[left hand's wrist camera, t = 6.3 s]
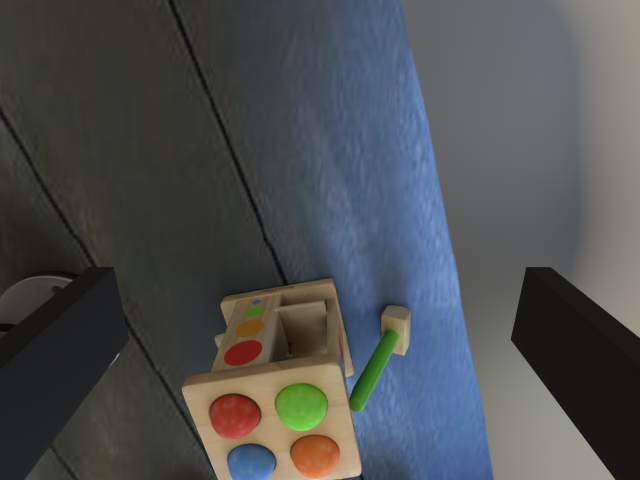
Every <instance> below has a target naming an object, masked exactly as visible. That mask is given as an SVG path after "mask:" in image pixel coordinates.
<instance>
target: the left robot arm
mask: <svg viewBox="0 0 640 480" xmlns="http://www.w3.org/2000/svg"><path fill="white" fill-rule="evenodd" d="M128 341H129V336H128V332H127V327H126V322H125V318H124V313H123V309H122V304H121V299H120V295H119V290H118V285H117V281H116V276H115V272H114V267H89V268H88V269H87V270H85V271H84V272H83V273H82V274H80V275H79V276H76V275H73V274H69V273H64V272H53V271H51V272H40V273H36V274H33V275H30V276H28V277H25V278H24V279H22V280H20V281H19V282H17V283H16V284H14V285H13V286H11V287H10V288H9V289H8V290H7V291H6V292H5V293H4V294H3V295H2V296H1V298H0V480H25V478H26V477H27V476H28V474H29V473H30V472H31V470H32V469H33V468H34V466H35V465H36V464H37V462H38V461H39V460H40V458H41V457H42V456H43V454H44V453H45V452H46V450H47V449H48V448H49V446H50V445H51V444H52V442H53V441H54V440H55V438H56V437H57V436H58V434H59V433H60V432H61V430H62V429H63V428H64V426H65V425H66V424H67V422H68V421H69V420H70V418H71V417H72V416H73V414H74V413H75V412H76V410H77V409H78V407H79V406H80V405H81V403H82V402H83V401H84V399H85V398H86V397H87V395H88V394H89V393H90V391H91V390H92V389H93V387H94V386H95V385H96V383H97V382H98V381H99V379H100V378H101V377H102V375H103V374H104V373H105V371H106V370H107V369H108V368H109V367H110V366H111V365H112V364H113V363H114V361H115V360H116V359H117V357H118V356H119V355H120V353H121V352H122V350H123V348H124V346H125V345H126V343H127V342H128ZM511 341H512V342H513V343H514V345H515V346H516V347H517V349H518V350H519V351H520V353H521V354H522V355H523V357H524V358H525V359H526V361H527V362H528V363H529V365H530V366H531V367H532V369H533V370H534V371H535V373H536V374H537V375H538V377H539V378H540V379H541V381H542V382H543V383H544V385H545V386H546V387H547V389H548V390H549V391H550V393H551V394H552V395H553V397H554V398H555V399H556V401H557V402H558V403H559V405H560V406H561V407H562V409H563V410H564V411H565V413H566V414H567V416H568V417H569V418H570V420H571V421H572V422H573V423H574V425H575V426H576V428H577V429H578V430H579V432H580V433H581V434H582V436H583V437H584V438H585V439H586V441H587V442H588V444H589V445H590V446H591V448H592V449H593V450H594V452H595V453H596V454H597V456H598V457H599V458H600V460H601V461H602V462H603V464H604V465H605V466H606V468H607V469H608V470H609V472H610V473H611V474H612V476H613V477H614V478H615V480H640V338H639V337H638V336H636V335H635V334H634V333H633V332H632V331H630V330H629V329H628V328H626V327H625V326H624V325H623V324H621V323H620V322H619V321H618V320H616V319H615V318H614V317H613V316H611V315H610V314H609V313H608V312H606V311H605V310H604V309H603V308H601V307H600V306H599V305H598V304H596V303H595V302H594V301H592V300H591V299H590V298H589V297H587V296H586V295H585V294H584V293H582V292H581V291H580V290H579V289H577V288H576V287H575V286H574V285H572V284H571V283H570V282H569V281H567V280H566V279H565V278H563V277H562V276H561V275H560V274H558V273H557V272H556V271H555V270H553V269H552V268H551V267H527V268H526V272H525V276H524V281H523V286H522V290H521V295H520V299H519V304H518V309H517V313H516V318H515V323H514V327H513V332H512V336H511Z"/></svg>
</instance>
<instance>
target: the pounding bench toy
mask: <svg viewBox="0 0 640 480" xmlns="http://www.w3.org/2000/svg"><path fill="white" fill-rule="evenodd" d="M221 309H222V312H223V315H224V318H225V321H226V324H227V329H226V332H225V333H223V334H219V335H216V336H215V341H216V344H217V347H218V353H217V356H216V358H215V361H214V364H213V367H212V369H211V372H208V373H202V374H197V375H192V376H189V377H187V379H186V381H185V383H184V385H183V387H182V392H183V395H184V398H185V401H186V403H187V406H188V408H189V410H190V413H191V415H192V418H193V420H194V422H195V425H196V427H197V430H198V432H199V434H200V437H201V439H202V441H203V444H204V446H205V449H206V451H207V454H208V456H209V459H210V461H211V464H212V466H213V468H214V471H215V473H216V476H217V478H218V480H335V479H342V478H349V477H355V476H358V475H360V474H361V471H362V467H361V458H360V451H359V447H358V442H357V437H356V432H355V428H354V416H353V412H352V410H353V411H355V412H360V411H362V410H363V408H364V406H365V404H366V402H367V400H368V398H369V396H370V394H371V392H372V391H373V389H374V387H375V385H376V383H377V381H378V379H379V377H380V375H381V373H382V371H383V369H384V367H385V365H386V363H387V361H388V359H389V357H390V356H391V354H392V353H395V354H399V355H405V353H406V351H407V349H408V346H409V342H410V322H411V311H410V310H409V309H408V308H405V307H402V306H395V305H389V306H387V307H386V309H385V310H384V312H383V313H382V315H381V341H380V343H379V344H378V346H377V348H376V350H375V351H374V353H373V355H372V357H371V358H370V360H369V362H368V364H367V365H366V367H365V369H364V371H363V372H362V374H361V376H360V378H359V379H358V381H357V383H356V385H355V386H354V388H353V391H352V393H351V396H350V398H349V394H348V390H347V386H346V377H348V376H352V375H353V374H354V370H353V364H352V359H351V354H350V350H349V345H348V341H347V336H346V332H345V327H344V323H343V318H342V314H341V309H340V305H339V301H338V296H337V292H336V287H335V283H334V279H333V278H328V279H321V280H315V281H310V282H304V283H298V284H292V285H287V286H281V287H275V288H269V289H263V290H258V291H252V292H246V293H241V294H235V295H230V296H226V297H224V298H223V300H222V302H221Z"/></svg>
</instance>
